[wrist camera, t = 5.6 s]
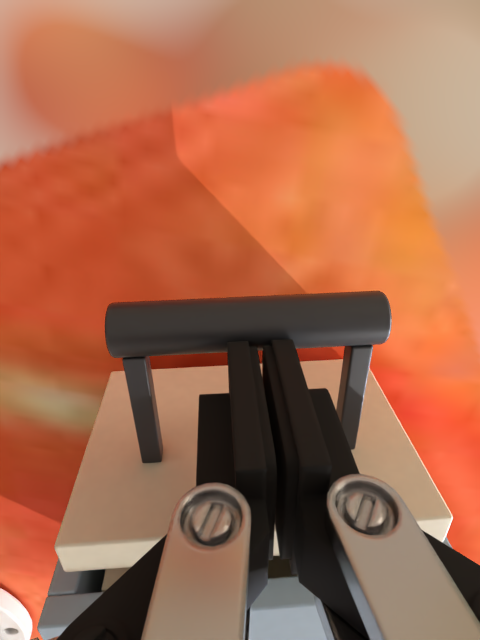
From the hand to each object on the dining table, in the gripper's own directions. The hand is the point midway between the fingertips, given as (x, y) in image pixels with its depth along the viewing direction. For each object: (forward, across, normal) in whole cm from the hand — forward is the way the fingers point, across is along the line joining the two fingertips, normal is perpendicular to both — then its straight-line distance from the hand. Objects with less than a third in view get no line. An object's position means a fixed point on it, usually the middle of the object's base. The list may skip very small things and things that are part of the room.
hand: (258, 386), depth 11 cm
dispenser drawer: (+5, 0, +7) cm, 8 cm away
